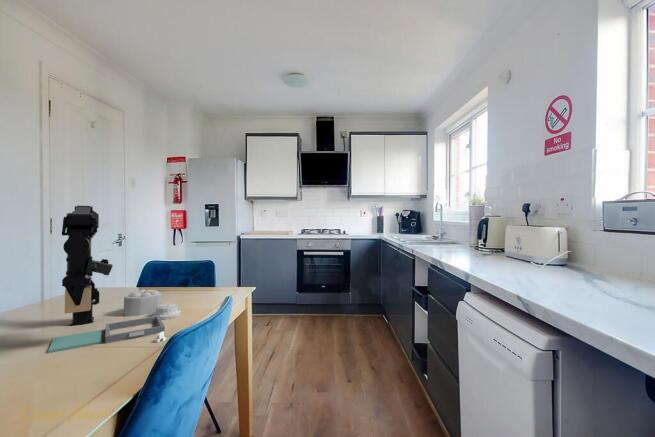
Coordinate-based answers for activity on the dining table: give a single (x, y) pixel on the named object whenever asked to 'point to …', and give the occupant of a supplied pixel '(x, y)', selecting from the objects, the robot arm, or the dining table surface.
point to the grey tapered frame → (137, 332)
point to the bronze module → (84, 304)
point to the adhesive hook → (159, 337)
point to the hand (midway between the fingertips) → (78, 303)
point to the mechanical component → (167, 311)
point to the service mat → (75, 341)
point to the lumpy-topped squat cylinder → (142, 302)
